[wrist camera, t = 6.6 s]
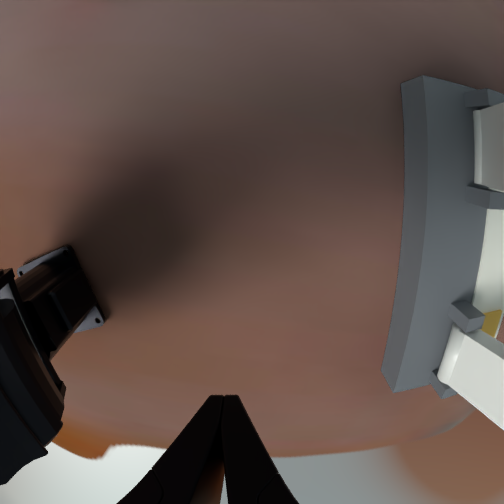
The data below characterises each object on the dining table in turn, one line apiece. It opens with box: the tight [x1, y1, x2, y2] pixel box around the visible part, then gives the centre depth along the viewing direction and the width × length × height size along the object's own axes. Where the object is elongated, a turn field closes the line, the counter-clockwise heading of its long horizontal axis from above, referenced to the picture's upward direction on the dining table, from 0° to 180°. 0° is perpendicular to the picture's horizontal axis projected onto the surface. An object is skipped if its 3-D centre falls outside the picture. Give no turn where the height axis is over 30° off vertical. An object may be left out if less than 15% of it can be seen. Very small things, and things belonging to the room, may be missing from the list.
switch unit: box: [381, 75, 504, 399], centre depth 17 cm, size 10×22×5 cm, turn 3°
